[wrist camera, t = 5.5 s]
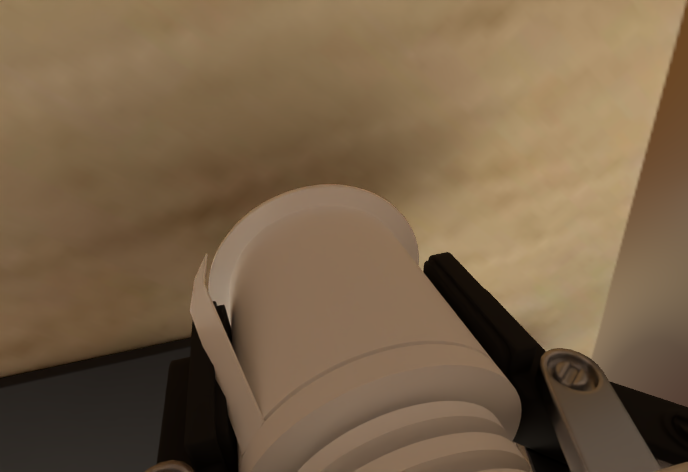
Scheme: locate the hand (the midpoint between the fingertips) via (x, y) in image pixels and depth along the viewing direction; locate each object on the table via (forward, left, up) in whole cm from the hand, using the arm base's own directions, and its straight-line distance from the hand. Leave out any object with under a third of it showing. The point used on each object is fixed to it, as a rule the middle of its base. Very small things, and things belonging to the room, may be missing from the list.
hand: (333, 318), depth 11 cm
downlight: (0, 0, -2) cm, 2 cm away
